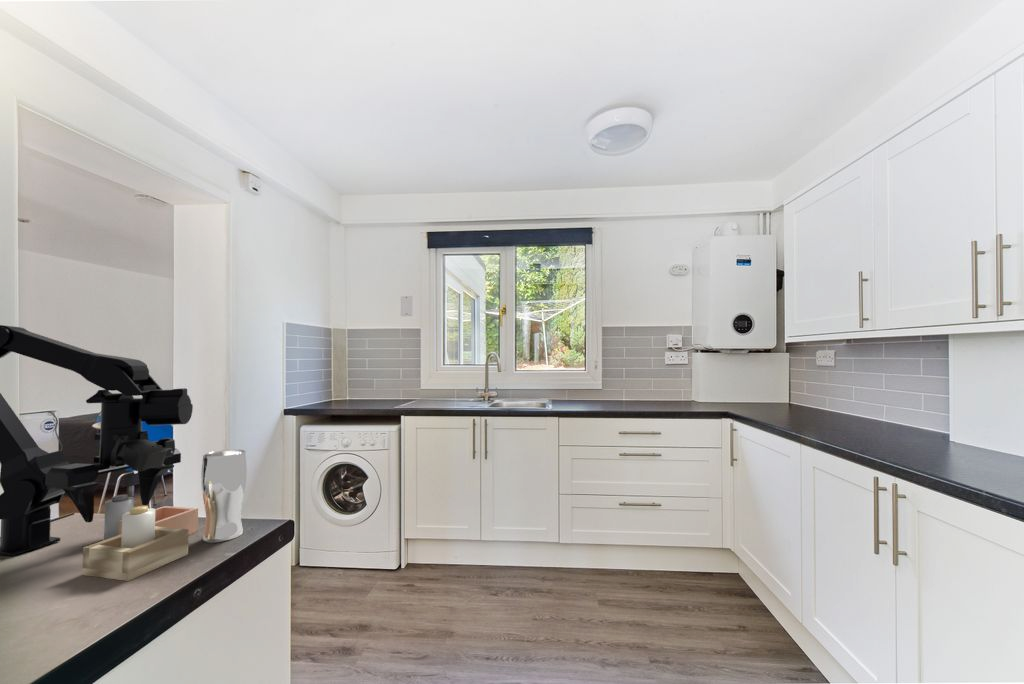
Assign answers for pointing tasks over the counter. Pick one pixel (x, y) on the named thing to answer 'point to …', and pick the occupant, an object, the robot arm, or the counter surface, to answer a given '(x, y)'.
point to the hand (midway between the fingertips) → (118, 513)
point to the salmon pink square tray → (174, 518)
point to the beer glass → (223, 493)
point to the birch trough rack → (134, 555)
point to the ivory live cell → (138, 527)
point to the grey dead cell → (116, 513)
